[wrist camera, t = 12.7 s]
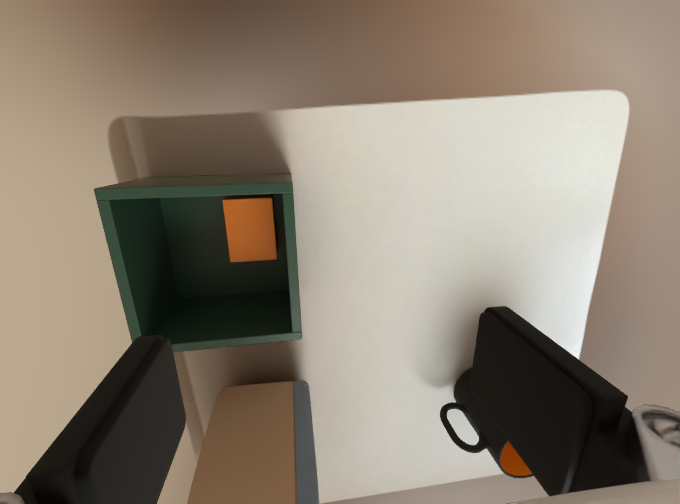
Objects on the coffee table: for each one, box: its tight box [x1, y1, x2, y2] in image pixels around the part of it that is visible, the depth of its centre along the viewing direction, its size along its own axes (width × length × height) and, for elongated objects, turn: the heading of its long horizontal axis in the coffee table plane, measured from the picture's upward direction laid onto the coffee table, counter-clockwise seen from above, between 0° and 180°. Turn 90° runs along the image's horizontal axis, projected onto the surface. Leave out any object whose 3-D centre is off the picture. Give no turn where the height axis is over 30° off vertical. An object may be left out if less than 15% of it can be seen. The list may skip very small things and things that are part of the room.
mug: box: [440, 368, 534, 478], centre depth 41 cm, size 8×12×10 cm
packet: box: [222, 194, 278, 262], centre depth 32 cm, size 4×6×4 cm
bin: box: [94, 173, 302, 352], centre depth 30 cm, size 14×14×10 cm
